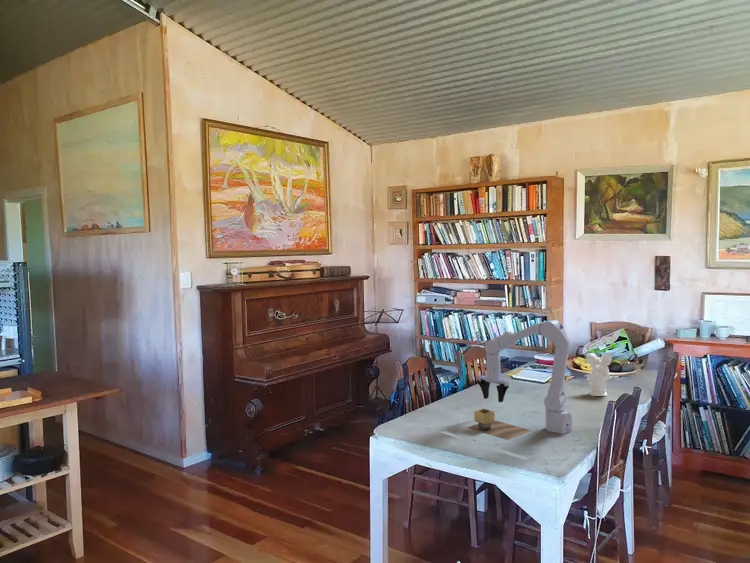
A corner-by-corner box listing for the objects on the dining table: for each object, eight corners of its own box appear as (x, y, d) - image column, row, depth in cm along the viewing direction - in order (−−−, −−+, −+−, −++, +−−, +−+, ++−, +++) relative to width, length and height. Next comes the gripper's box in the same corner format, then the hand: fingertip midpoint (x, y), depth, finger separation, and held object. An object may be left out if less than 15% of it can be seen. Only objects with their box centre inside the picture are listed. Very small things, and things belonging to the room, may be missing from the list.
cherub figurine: (582, 394, 282) (583, 350, 280) (595, 389, 290) (595, 347, 289) (606, 398, 273) (607, 353, 271) (618, 394, 281) (619, 349, 280)
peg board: (532, 433, 224) (532, 418, 224) (507, 442, 214) (507, 426, 213) (491, 421, 239) (491, 407, 239) (466, 429, 229) (466, 415, 229)
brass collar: (494, 421, 226) (494, 411, 226) (485, 424, 223) (485, 414, 222) (483, 418, 231) (483, 408, 230) (474, 421, 227) (474, 411, 227)
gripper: (473, 366, 240) (473, 398, 241) (501, 372, 229) (501, 405, 230) (484, 364, 245) (484, 395, 245) (512, 369, 233) (512, 402, 234)
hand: (493, 400), depth 238 cm, fingers open, 7 cm apart
